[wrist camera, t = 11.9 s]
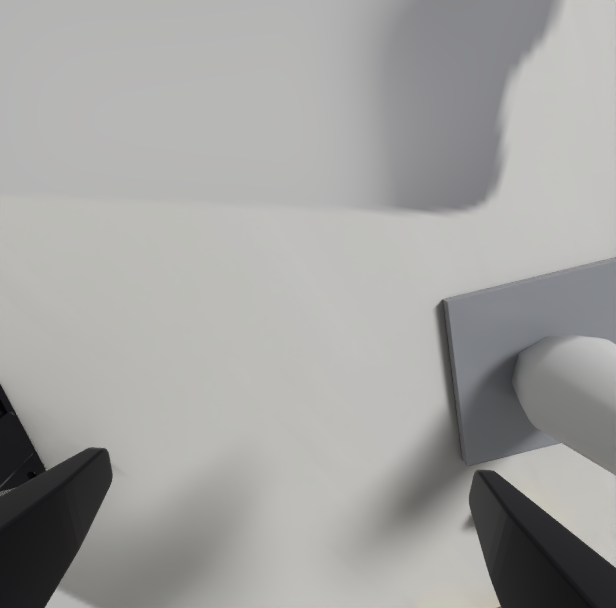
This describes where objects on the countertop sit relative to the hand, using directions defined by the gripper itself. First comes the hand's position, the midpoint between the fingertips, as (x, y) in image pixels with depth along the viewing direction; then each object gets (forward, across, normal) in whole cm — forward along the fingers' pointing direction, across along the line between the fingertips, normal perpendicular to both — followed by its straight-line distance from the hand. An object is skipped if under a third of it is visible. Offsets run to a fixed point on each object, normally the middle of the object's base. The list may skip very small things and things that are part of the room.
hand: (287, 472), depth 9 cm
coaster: (+13, -14, +3) cm, 19 cm away
